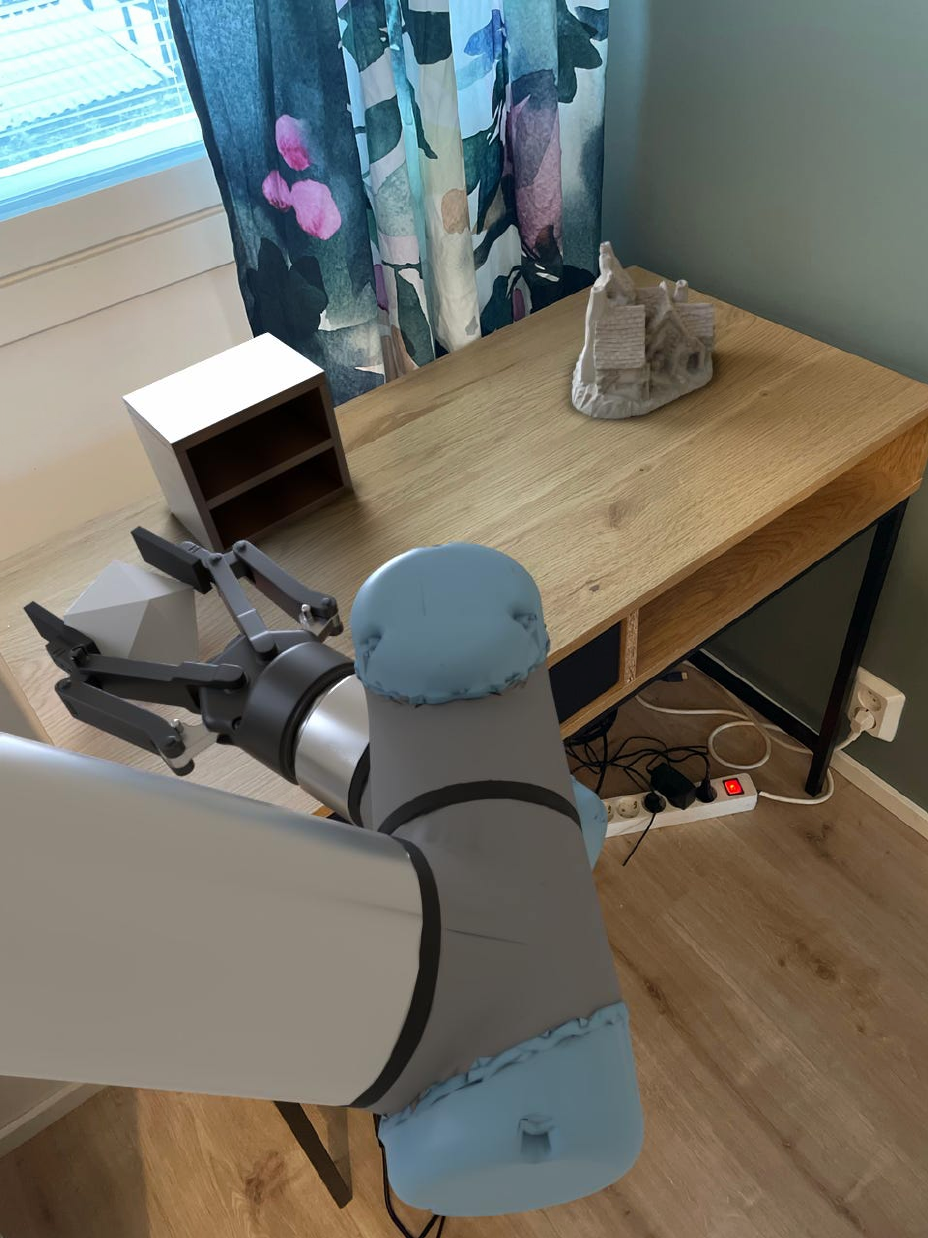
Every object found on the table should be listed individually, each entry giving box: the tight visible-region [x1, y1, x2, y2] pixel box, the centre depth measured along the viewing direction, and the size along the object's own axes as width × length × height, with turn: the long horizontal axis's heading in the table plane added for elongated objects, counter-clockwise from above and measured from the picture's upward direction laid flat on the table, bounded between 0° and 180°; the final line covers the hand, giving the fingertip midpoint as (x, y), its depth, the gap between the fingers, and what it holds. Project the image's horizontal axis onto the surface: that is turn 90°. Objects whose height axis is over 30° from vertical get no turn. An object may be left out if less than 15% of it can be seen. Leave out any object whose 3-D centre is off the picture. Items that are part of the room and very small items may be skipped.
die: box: [63, 558, 201, 708], centre depth 59 cm, size 8×9×10 cm
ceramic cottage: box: [571, 241, 717, 420], centre depth 98 cm, size 16×16×15 cm
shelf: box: [121, 332, 354, 555], centre depth 89 cm, size 16×11×14 cm
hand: (91, 580), depth 60 cm, fingers closed on die, 8 cm apart
